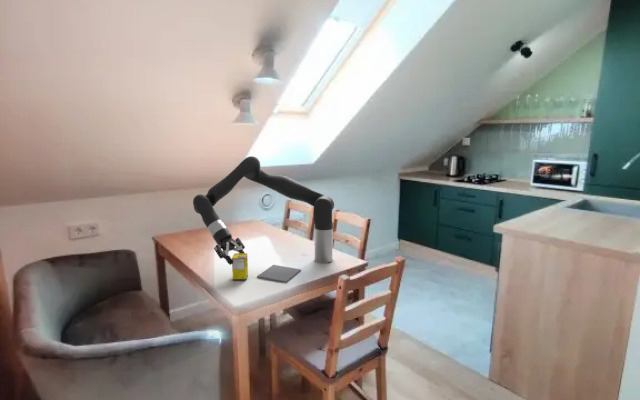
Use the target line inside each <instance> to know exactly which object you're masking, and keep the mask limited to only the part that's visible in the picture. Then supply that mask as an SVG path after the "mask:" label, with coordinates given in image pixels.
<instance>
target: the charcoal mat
mask: <svg viewBox="0 0 640 400" xmlns="http://www.w3.org/2000/svg"><path fill="white" fill-rule="evenodd" d="M301 271H302V269H301V268H295V267H288V266H284V265H279V264H278V265H277V264H272V265H271V266H269V267H268V268H267V269H265V270H264V271H262V272H261V273H259V274H257V276H256V278H257V279H263V280H268V281H274V282H277V283H278V282H279V283H284V284H287V283H288V282H290V281H291V280H292V279H293V278H295V277H296V276H297V275H298V274H299V273H301Z"/></svg>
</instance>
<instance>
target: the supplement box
mask: <svg viewBox="0 0 640 400" xmlns="http://www.w3.org/2000/svg"><path fill="white" fill-rule="evenodd" d="M231 259H232V260H233V263H232V264H231V267H232V281H235V282H239V281H240V282H241V281H243V282H244V281H247V279H248V277H249V265H248V264H249V263H248V253H245V252H244V253H239V252H237V253H233V255H232V257H231Z"/></svg>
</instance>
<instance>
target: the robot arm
mask: <svg viewBox="0 0 640 400" xmlns="http://www.w3.org/2000/svg"><path fill="white" fill-rule="evenodd" d="M243 178H246V180H249V181H252V182H254V183H257V184H259V185H263V186H265V187H266V188H269V189H270V190H272V191H274V192H276V193H278V194H280V195H282V196H284V197H286V198H289V199H290V200H296V201H298V202H299V201H300V202H304V203H307V204H308V205H311V206H312V207H313V224H314V261H315V262H316V263H319V264H327V263H328V262H329V263H331V262H332V261H333V247H334V246H333V245H334V244H333V241H334V237H333V236H334V234H333V233H334V226H333V225H334V223H333V209H334V208H335V202H334V200H333V199H332V198H331V197H330V196H328V195H325V194H324V193H321V192H318V191H315V190H313V189H311V188H310V187H307V186H305V185H303V184H302V183H301V182H298V181H296V180H294V179H293V178H290V177H289V176H286V175H281V174H278V175H277V174H270V173H268V172H266V171H264V170H262V169H261V161H260V160H259V159H258V157H255V156H254V155H253V156H248V157H246V158H244V159H243V160H242V161H241V162H240V163H239V164H238V165H237V166H236V167H234V169H233V170H232V171H231V172H230V173H229V174H227V175H226V176H225V177H224V178H222V179H221V180H220V181H219V182H216V184H214V185H213V186H212V187H211V188H209V189H208V191H207V193H206V194H197V195H195V197H193V199H192V203H193V205H192V206H193V209H194V211H195V212H196V213H197V214H200V217H201V219H202V222H203V224H204V225H205V226H206V228H207V230H208V232H209V233H210V235H211V237H212V238H213V239H214V241H215V243H216V245H215V246H214V248H213V249H214V251H215V252H216V255H217V256H218V258H219V259H224V260H225V261H226V262H227V264H228V265H229V266H232V263H233V260H232V257H231V256H230V255H229V252H230V251H233V252H237V253H245V251H244V249H245V248H246V246H245V245H244V244H243V242H242V240H241V239H240V238H239V237H236V238H235V239H234V238H233V237H232V233H231V232H230V230H229V229H228V227H227V225H226V224H225V223H224V222H223V221H222V220H221V217H220V216H219V215H218V214H217V212H216V211H215V209H214V206H215V205H216V204H217V203H218V202H219V201H220V200H222V199H223V198H224V197H226V196H227V195H229V193H230V192H232V190H233V189H234V188H235V186H237V185H238V183H239V182H240V181H241V180H242V179H243ZM329 263H328V264H329Z"/></svg>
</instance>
